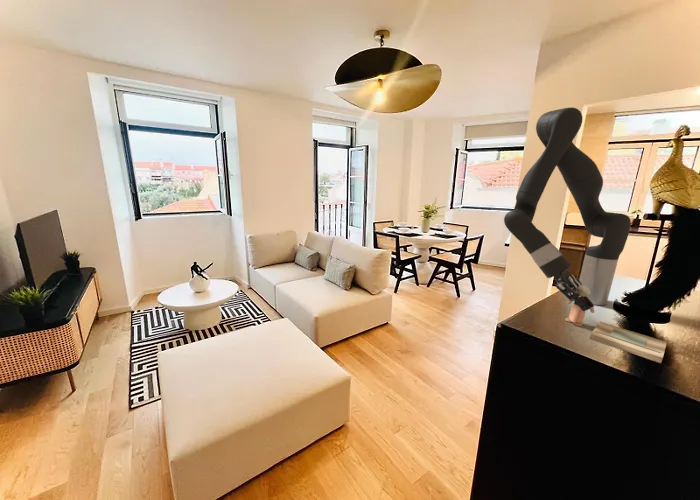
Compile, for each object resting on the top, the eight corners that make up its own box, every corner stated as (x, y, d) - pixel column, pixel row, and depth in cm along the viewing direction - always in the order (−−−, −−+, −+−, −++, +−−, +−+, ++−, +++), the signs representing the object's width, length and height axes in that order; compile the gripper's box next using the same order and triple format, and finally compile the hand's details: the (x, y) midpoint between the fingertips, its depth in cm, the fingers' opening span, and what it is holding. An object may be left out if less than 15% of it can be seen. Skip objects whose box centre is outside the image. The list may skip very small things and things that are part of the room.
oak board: (599, 326, 88) (600, 321, 88) (665, 347, 78) (667, 341, 77) (589, 338, 81) (590, 333, 80) (660, 363, 70) (662, 357, 70)
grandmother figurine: (558, 319, 92) (567, 282, 88) (564, 316, 94) (573, 280, 90) (587, 330, 85) (597, 291, 82) (593, 327, 87) (603, 288, 84)
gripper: (553, 257, 86) (596, 309, 79) (568, 251, 94) (607, 297, 88) (531, 269, 91) (569, 319, 85) (546, 263, 100) (582, 307, 93)
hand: (588, 308), depth 86 cm, fingers closed on grandmother figurine, 2 cm apart
